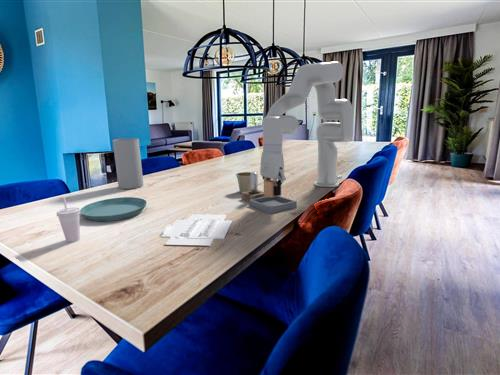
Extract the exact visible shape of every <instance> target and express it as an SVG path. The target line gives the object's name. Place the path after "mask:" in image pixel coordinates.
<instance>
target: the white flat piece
mask: <svg viewBox="0 0 500 375" xmlns="http://www.w3.org/2000/svg"><path fill="white" fill-rule="evenodd" d="M226 217H227V214H210V213H209V214H208V213H207V214H196V213H191V214H190V215H189V216H188V218H185V219H176V220H175V221H174V222H173V223H172V224H170V223H167V224H165V226H164V227H163V231H162V235H161V236H160V238H168V240H167V241H166V242H165V243H164V244H163V246H166V245H167V246H169V245H171V246H206V247H207V246H208V247H211V245H212V243H213V241H214V240H216V239H217V240H220V239H221V240H225V238H226V235H227V234H228V231H229V229H230V226H231V225H232V222H233V219H232V220H231V219H230V220H227V219H226ZM225 219H226V220H225Z"/></svg>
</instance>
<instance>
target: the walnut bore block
mask: <svg viewBox="0 0 500 375" xmlns="http://www.w3.org/2000/svg"><path fill="white" fill-rule="evenodd" d="M261 197H265V195H264V191H262V190H258V194H254V195H252V194H251V191H247V192H241V200H243V201H246V202H249V203H250V200H251V199H256V198H261Z"/></svg>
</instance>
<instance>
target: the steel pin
mask: <svg viewBox="0 0 500 375" xmlns="http://www.w3.org/2000/svg"><path fill="white" fill-rule="evenodd" d="M258 183H259V182H258V171H257V172H256V171H251V194H252V195H254V194H258V185H259V184H258Z"/></svg>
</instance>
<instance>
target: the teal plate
mask: <svg viewBox="0 0 500 375" xmlns="http://www.w3.org/2000/svg"><path fill="white" fill-rule="evenodd" d="M146 206H147V200H146V199H144V198H141V197H134V196H127V197H125V196H122V197H114V198H106V199H101V200H97V201H94V202H91V203H88V204H86V205H85V206H83V207H82V208H80V213H79V214H81V215H82V216H83V217H84V218H86V219H88V220H90V221H95V222H112V221H120V220H125V219H128V218H131V217H132V218H133V217H134V216H136V215H138V214H140V213H141V212H142V211H143V210H145V208H146Z"/></svg>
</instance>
